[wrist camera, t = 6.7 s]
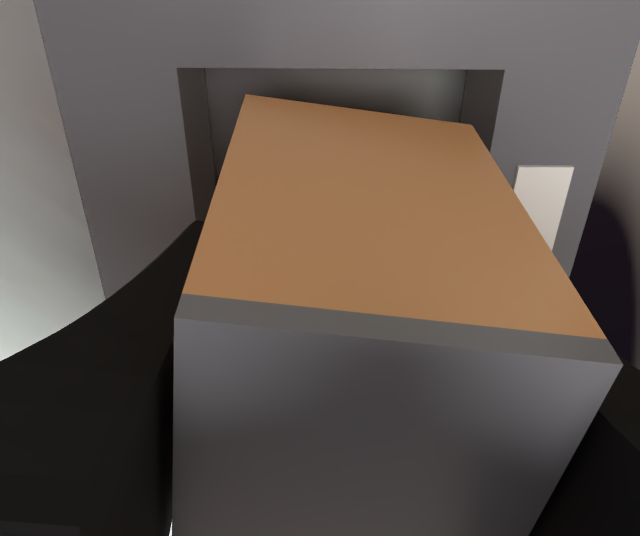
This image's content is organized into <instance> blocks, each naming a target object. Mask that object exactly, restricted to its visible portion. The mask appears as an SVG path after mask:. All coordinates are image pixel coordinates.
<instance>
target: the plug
mask: <svg viewBox="0 0 640 536" xmlns="http://www.w3.org/2000/svg"><path fill="white" fill-rule="evenodd" d="M622 366H623V364H622V362H621V360H620V359H619V357H618V356H617V354H616V353H615V351H614V349H613V348H612V346H611V344H610V343H609V342H608V340H607V338H606V337H605V335H604V333H603V332H602V330H601V329H600V327H599V326H598V324H597V322H596V321H595V319H594V318H593V316H592V314H591V313H590V311H589V310H588V308H587V306H586V305H585V303H584V302H583V300H582V299H581V297H580V295H579V294H578V292H577V291H576V289H575V287H574V286H573V284H572V283H571V281H570V279H569V278H568V276H567V275H566V273H565V272H564V270H563V268H562V267H561V265H560V264H559V262H558V260H557V259H556V257H555V256H554V254H553V253H552V251H551V249H550V248H549V246H548V245H547V243H546V241H545V240H544V238H543V237H542V235H541V234H540V232H539V230H538V229H537V227H536V226H535V224H534V222H533V221H532V219H531V218H530V216H529V214H528V213H527V211H526V210H525V208H524V207H523V205H522V203H521V202H520V200H519V199H518V197H517V195H516V194H515V192H514V191H513V189H512V188H511V186H510V184H509V183H508V181H507V180H506V178H505V176H504V175H503V173H502V172H501V170H500V169H499V167H498V165H497V164H496V162H495V161H494V159H493V157H492V156H491V154H490V153H489V151H488V149H487V148H486V146H485V145H484V143H483V142H482V140H481V138H480V137H479V135H478V134H477V132H476V130H475V129H474V127H473V126H472V125H470V124H462V123H455V122H448V121H440V120H433V119H425V118H418V117H411V116H403V115H396V114H389V113H381V112H374V111H366V110H359V109H352V108H344V107H337V106H330V105H322V104H315V103H308V102H300V101H293V100H285V99H278V98H271V97H263V96H256V95H249V94H245V97H244V101H243V104H242V107H241V110H240V113H239V116H238V119H237V122H236V126H235V129H234V132H233V135H232V138H231V141H230V144H229V147H228V151H227V154H226V157H225V160H224V163H223V166H222V169H221V173H220V176H219V179H218V182H217V185H216V188H215V191H214V194H213V198H212V201H211V204H210V207H209V210H208V213H207V216H206V219H205V223H204V226H203V229H202V232H201V235H200V238H199V241H198V244H197V248H196V251H195V254H194V257H193V260H192V263H191V266H190V270H189V273H188V276H187V279H186V282H185V285H184V288H183V291H182V295H181V298H180V301H179V304H178V307H177V310H176V313H175V316H174V381H173V495H172V536H529V534H530V532H531V530H532V529H533V527H534V525H535V523H536V521H537V520H538V518H539V516H540V514H541V512H542V511H543V509H544V507H545V505H546V503H547V502H548V500H549V498H550V496H551V494H552V492H553V491H554V489H555V487H556V485H557V483H558V482H559V480H560V478H561V476H562V474H563V473H564V471H565V469H566V467H567V465H568V464H569V462H570V460H571V458H572V456H573V455H574V453H575V451H576V449H577V447H578V446H579V444H580V442H581V440H582V438H583V437H584V435H585V433H586V431H587V429H588V428H589V426H590V424H591V422H592V420H593V419H594V417H595V415H596V413H597V411H598V410H599V408H600V406H601V404H602V402H603V401H604V399H605V397H606V395H607V393H608V391H609V390H610V388H611V386H612V384H613V382H614V381H615V379H616V377H617V375H618V373H619V372H620V370H621V368H622Z"/></svg>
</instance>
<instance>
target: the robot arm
mask: <svg viewBox="0 0 640 536" xmlns="http://www.w3.org/2000/svg"><path fill="white" fill-rule="evenodd" d="M204 223H205V221H199V220H195V221H194V222H193V223H191V224H190V225H189V226H188V227H187V228H186V229H185V230H184V231H183V232H182V233H181V234H180V235H179V236H178V237H177V238H176V239H175V240H174V241H173V242H172V243H171V244H170V245H169V246H168V247H167V248H166V249H165V250H164V251H163V252H162V253H161V254H160V255H159V256H158V257H157V258H155V259H154V260H153V261H152V262H151V263H150V264H149V265H148V266H146V267H145V268H144V269H143V270H142V271H141V272H140V273H139V274H138V275H136V276H135V277H134V278H133V279H132V280H130V281H129V282H128V283H127V284H125V285H124V286H123V287H121V288H120V289H119V290H118V291H116V292H115V293H114V294H112V295H111V296H110V297H109V298H107V299H106V300H105V301H103V302H102V303H101V304H99V305H98V306H96V307H95V308H94V309H92V310H91V311H89V312H88V313H86V314H85V315H83V316H82V317H80V318H79V319H77V320H76V321H74V322H72V323H71V324H69V325H68V326H66V327H64V328H63V329H61V330H59V331H58V332H56V333H54V334H52V335H50V336H48V337H46V338H45V339H43V340H41V341H39V342H37V343H35V344H33V345H31V346H29V347H27V348H25V349H23V350H22V351H20V352H18V353H16V354H14V355H12V356H10V357H8V358H6V359H4V360H2V361H0V536H169V533H170V527H171V522H172V495H173V381H174V316H175V313H176V310H177V307H178V304H179V301H180V298H181V295H182V291H183V288H184V285H185V282H186V279H187V276H188V273H189V270H190V266H191V263H192V260H193V257H194V254H195V251H196V248H197V244H198V241H199V238H200V235H201V232H202V229H203V226H204ZM616 354H617V353H616ZM617 356H618V357H619V359H620V360H621V362H622V364H623V366H622V368H621V370H620V372H619V373H618V375H617V377H616V379H615V381H614V382H613V384H612V386H611V388H610V390H609V391H608V393H607V395H606V397H605V399H604V401H603V402H602V404H601V406H600V408H599V410H598V411H597V413H596V415H595V417H594V419H593V420H592V422H591V424H590V426H589V428H588V429H587V431H586V433H585V435H584V437H583V438H582V440H581V442H580V444H579V446H578V447H577V449H576V451H575V453H574V455H573V456H572V458H571V460H570V462H569V464H568V465H567V467H566V469H565V471H564V473H563V474H562V476H561V478H560V480H559V482H558V483H557V485H556V487H555V489H554V491H553V492H552V494H551V496H550V498H549V500H548V502H547V503H546V505H545V507H544V509H543V511H542V512H541V514H540V516H539V518H538V520H537V521H536V523H535V525H534V527H533V529H532V530H531V532H530V534H529V536H640V370H638V369H637V368H635V367H634V366H633V365H631V364H630V363H629V362H627V361H626V360H624V359H623V358H622V357H621V356H619V355H618V354H617Z"/></svg>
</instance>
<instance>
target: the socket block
mask: <svg viewBox="0 0 640 536" xmlns="http://www.w3.org/2000/svg"><path fill="white" fill-rule="evenodd" d="M33 2H34V6H35V10H36V14H37V18H38V22H39V26H40V30H41V35H42V39H43V43H44V47H45V51H46V55H47V59H48V63H49V67H50V72H51V76H52V80H53V84H54V88H55V92H56V96H57V100H58V105H59V109H60V113H61V117H62V121H63V125H64V129H65V133H66V138H67V142H68V146H69V150H70V154H71V158H72V162H73V166H74V170H75V175H76V179H77V183H78V187H79V191H80V195H81V199H82V203H83V208H84V212H85V216H86V220H87V224H88V228H89V232H90V236H91V241H92V245H93V249H94V253H95V257H96V261H97V265H98V269H99V273H100V278H101V282H102V286H103V290H104V294H105V298H106V299H107V298H109V297H110V296H111V295H112V294H114V293H115V292H116V291H118V290H119V289H120V288H121V287H123V286H124V285H125V284H127V283H128V282H129V281H130V280H132V279H133V278H134V277H135V276H136V275H138V274H139V273H140V272H141V271H142V270H143V269H144V268H145V267H146V266H148V265H149V264H150V263H151V262H152V261H153V260H154V259H155V258H157V257H158V256H159V255H160V254H161V253H162V252H163V251H164V250H165V249H166V248H167V247H168V246H169V245H170V244H171V243H172V242H173V241H174V240H175V239H176V238H177V237H178V236H179V235H180V234H181V233H182V232H183V231H184V230H185V229H186V228H187V227H188V226H189V225H190V224H191V223H193V222H194V221H195V220H199V221H205V219H206V216H207V213H208V210H209V207H210V204H211V201H212V198H213V194H214V191H215V188H216V181H215V171H214V161H213V151H212V140H211V130H210V120H209V110H208V100H207V90H206V80H205V70H204V68H300V69H467V74H466V81H465V88H464V95H463V102H462V109H461V116H460V123H462V124H470V125H472V126H473V127H474V129H475V130H476V132H477V134H478V135H479V137H480V138H481V140H482V142H483V143H484V145H485V146H486V148H487V149H488V151H489V153H490V154H491V156H492V157H493V159H494V161H495V162H496V164H497V165H498V167H499V169H500V170H501V172H502V173H503V175H504V176H505V178H506V180H507V181H508V183H509V184H510V186H511V188H512V189H513V191H514V192H515V194H516V195H517V197H518V199H519V200H520V202H521V203H522V205H523V207H524V208H525V210H526V211H527V213H528V214H529V216H530V218H531V219H532V221H533V222H534V224H535V226H536V227H537V229H538V230H539V232H540V234H541V235H542V237H543V238H544V240H545V241H546V243H547V245H548V246H549V248H550V249H551V251H552V253H553V254H554V256H555V257H556V259H557V260H558V262H559V264H560V265H561V267H562V268H563V270H564V272H565V273H566V275H567V276H568V278H569V277H570V273H571V269H572V267H573V263H574V260H575V256H576V253H577V249H578V246H579V243H580V239H581V236H582V233H583V229H584V226H585V222H586V219H587V216H588V212H589V209H590V206H591V202H592V199H593V195H594V192H595V189H596V185H597V182H598V178H599V175H600V171H601V168H602V165H603V161H604V158H605V155H606V151H607V147H608V144H609V141H610V138H611V134H612V131H613V128H614V124H615V121H616V118H617V114H618V111H619V107H620V104H621V101H622V97H623V94H624V90H625V87H626V84H627V80H628V77H629V74H630V70H631V66H632V63H633V60H634V57H635V53H636V50H637V46H638V43H639V40H640V0H33Z"/></svg>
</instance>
